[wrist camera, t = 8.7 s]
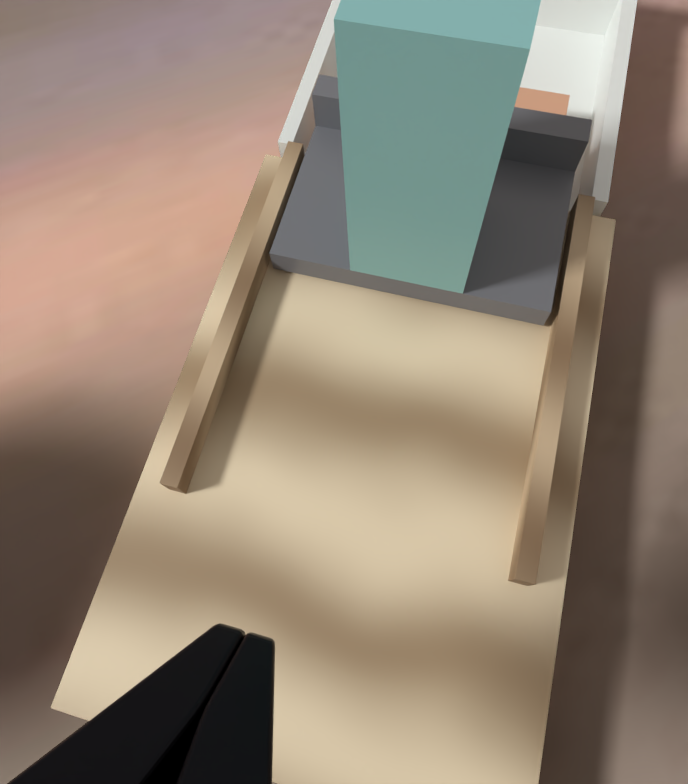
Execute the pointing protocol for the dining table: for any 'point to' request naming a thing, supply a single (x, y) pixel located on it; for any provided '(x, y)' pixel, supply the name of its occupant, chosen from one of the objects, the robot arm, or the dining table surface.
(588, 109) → the tray
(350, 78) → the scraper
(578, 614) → the dining table surface
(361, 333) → the board
